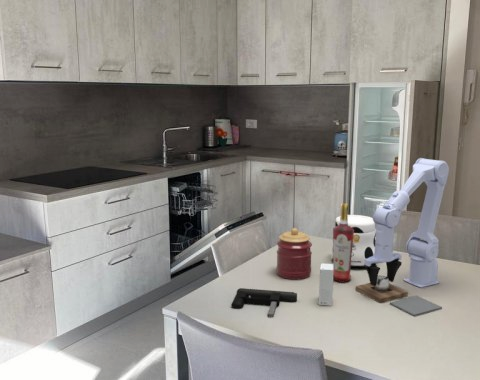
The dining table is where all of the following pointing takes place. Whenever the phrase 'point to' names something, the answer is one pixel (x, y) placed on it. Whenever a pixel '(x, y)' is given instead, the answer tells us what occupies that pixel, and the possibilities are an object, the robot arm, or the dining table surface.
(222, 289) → the dining table surface
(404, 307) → the rubber mat
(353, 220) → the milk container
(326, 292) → the skincare box
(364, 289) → the bore plate
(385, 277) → the end cover
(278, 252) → the canister
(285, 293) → the door handle
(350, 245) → the liquor
